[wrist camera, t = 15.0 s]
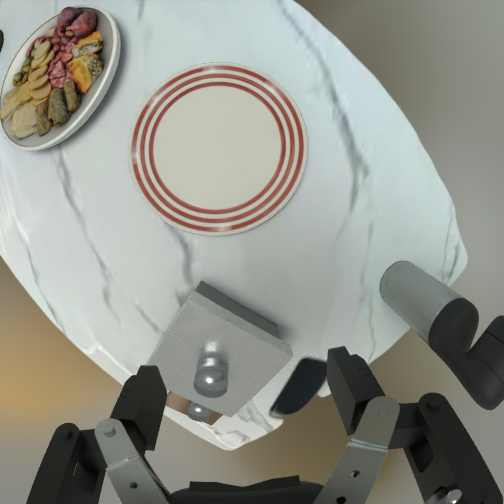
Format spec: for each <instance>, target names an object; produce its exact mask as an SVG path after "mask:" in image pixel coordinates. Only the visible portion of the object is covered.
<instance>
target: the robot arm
mask: <svg viewBox="0 0 504 504" xmlns="http://www.w3.org/2000/svg"><path fill="white" fill-rule="evenodd" d="M380 293H381V296H382V298H383V299H384V301H385V302H386V303H387V304H388V305H389V306H390V307H391V308H392V309H393V310H394V311H395V312H396V313H397V314H398V315H399V316H400V317H401V318H402V319H403V320H404V321H405V322H406V323H407V324H408V325H409V326H410V327H411V328H412V329H413V330H414V331H415V332H416V333H417V334H418V335H419V336H420V337H421V338H422V339H423V340H424V341H425V342H426V343H427V344H428V346H429V347H430V348H431V349H432V350H433V351H434V352H435V353H436V354H437V355H438V356H439V357H440V358H441V359H442V360H443V361H444V362H445V363H446V364H447V366H448V367H449V368H450V369H451V371H452V372H453V373H454V374H455V376H456V377H457V378H458V380H459V381H460V382H461V384H462V385H463V387H464V388H465V389H466V391H467V392H468V393H469V394H470V396H471V397H472V398H473V400H474V401H476V403H477V404H478V405H480V406H481V407H482V408H484V409H486V410H493V409H495V408H496V407H497V406H498V405H499V404H500V403H501V402H502V401H503V400H504V316H498V317H496V318H495V319H494V320H493V321H492V322H491V324H490V325H489V326H488V328H487V329H486V330H485V332H484V333H483V334H482V335H481V337H480V338H479V339H478V341H477V342H476V343H475V344H474V345H473V347H472V348H471V349H470V347H471V344H472V341H473V338H474V336H475V333H476V330H477V327H478V321H479V315H478V311H477V309H476V307H475V306H474V305H473V304H472V303H471V302H469V301H468V300H466V299H465V298H463V297H462V296H461V295H459V294H458V293H456V292H455V291H453V290H452V289H450V288H449V287H447V286H446V285H444V284H443V283H441V282H440V281H438V280H437V279H435V278H434V277H432V276H431V275H429V274H427V273H426V272H424V271H423V270H421V269H420V268H418V267H417V266H415V265H413V264H412V263H410V262H408V261H400V262H397V263H395V264H393V265H392V266H391V267H389V269H388V270H387V271H386V272H385V274H384V275H383V278H382V280H381V284H380ZM327 382H328V385H329V388H330V390H331V393H332V395H333V398H334V401H335V403H336V406H337V408H338V411H339V414H340V416H341V419H342V421H343V424H344V427H345V430H346V432H347V435H348V436H349V435H352V434H354V436H353V438H352V440H351V441H349V443H348V444H347V446H346V448H345V450H344V452H343V454H342V456H341V458H340V459H339V461H338V463H337V465H336V467H335V468H334V470H333V472H332V474H331V476H330V477H329V479H328V481H327V482H326V484H325V485H324V486H323V485H320V484H317V483H313V482H307V481H300V480H299V475H297V476H291V477H283V478H276V479H270V480H267V481H263V482H260V483H257V484H253V485H249V486H245V487H240V486H234V485H228V484H223V483H218V482H192V481H191V482H190V487H189V488H185V489H181V490H179V491H176V492H174V493H172V494H170V492H169V491H168V490H167V489H166V487H164V485H163V483H162V482H161V481H160V479H159V478H158V476H157V475H156V473H155V472H154V470H153V468H152V467H151V465H150V464H149V462H148V461H147V459H146V458H145V456H144V455H145V451H146V450H151V451H154V449H155V445H156V441H157V437H158V432H159V428H160V424H161V420H162V416H163V412H164V408H165V404H166V401H167V390H166V387H165V384H164V382H163V379H162V377H161V374H160V371H159V369H158V367H157V366H156V365H141V366H140V368H139V370H138V373H137V375H132V376H131V377H130V378H129V379H128V380H127V381H126V382H125V384H124V386H123V389H122V391H121V393H120V397H119V398H118V400H117V402H116V404H115V407H114V409H113V412H112V414H111V416H110V418H109V419H106V420H103V421H101V422H100V423H99V424H98V425H97V426H96V428H95V429H91V430H79V428H78V427H77V426H76V425H75V424H73V423H64V424H62V425H60V426H59V427H58V428H57V429H56V431H55V433H54V435H53V437H52V439H51V441H50V443H49V446H48V448H47V451H46V453H45V455H44V457H43V460H42V462H41V465H40V467H39V470H38V472H37V475H36V477H35V480H34V483H33V485H32V488H31V491H30V494H29V497H28V500H27V503H26V504H98V502H99V498H100V493H101V489H102V485H103V481H104V476H105V472H107V474H108V476H109V478H110V480H111V482H112V484H113V487H114V489H115V491H116V492H117V494H118V496H119V498H120V500H121V502H122V504H365V502H366V500H367V498H368V496H369V494H370V491H371V489H372V487H373V485H374V483H375V481H376V478H377V476H378V474H379V471H380V469H381V466H382V464H383V461H384V459H385V456H386V454H387V450H388V449H397V448H403V449H404V452H405V454H406V457H407V459H408V461H409V464H410V466H411V469H412V471H413V474H414V476H415V479H416V481H417V484H418V487H419V489H420V492H421V495H422V497H423V500H424V504H503V497H502V494H501V492H500V490H499V488H498V486H497V484H496V482H495V480H494V478H493V476H492V474H491V472H490V471H489V469H488V467H487V465H486V464H485V461H484V460H483V458H482V456H481V454H480V453H479V451H478V449H477V447H476V446H475V444H474V442H473V441H472V439H471V437H470V435H469V434H468V432H467V431H466V429H465V428H464V426H463V424H462V423H461V421H460V419H459V418H458V416H457V415H456V413H455V411H454V410H453V408H452V407H451V405H450V404H449V402H448V401H447V399H446V398H445V397H444V396H443V395H441V394H438V393H427V394H425V395H423V396H422V397H421V398H420V400H419V402H418V403H408V404H400V403H398V402H397V401H396V400H395V399H393V398H391V397H387V396H386V395H385V394H384V392H383V390H382V388H381V387H380V385H379V384H378V382H377V380H376V378H375V377H374V375H373V374H372V372H371V370H370V369H369V367H368V365H367V363H366V362H365V360H364V359H363V358H361V357H360V356H358V355H357V354H355V355H350V354H349V353H348V351H347V349H346V347H345V346H342V347H337V348H332V349H329V350H328V359H327ZM76 464H77V466H76ZM75 467H76V469H75ZM74 471H75V472H74ZM73 474H74V475H73Z"/></svg>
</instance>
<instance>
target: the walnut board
mask: <svg viewBox="0 0 504 504" xmlns="http://www.w3.org/2000/svg"><path fill="white" fill-rule="evenodd" d="M165 405H166V406H168V407H170V408H172V409H174V410H176V411H179V412H181V413H183V414H185V415H187V410H188V405H189V400H188V399H186V398H184V397H182V396H180V395H177V394H175V393H173V392H171V391H170V392H169V393H168V394H167V401H166V404H165ZM222 415H223V414H221V413H218V412H216V411H213V410H211V417H210V419H209V420H207V421H203V422H204V423H207V424H210V425H213V424H214V423H215V422H216V421H217V420H218V419H219V418H220V417H221V416H222Z"/></svg>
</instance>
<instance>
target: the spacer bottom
mask: <svg viewBox="0 0 504 504" xmlns="http://www.w3.org/2000/svg"><path fill="white" fill-rule="evenodd" d="M193 386H194V389H195V390H196V392H197V393H199V394H200V395H202V396H204V397H208V398H217V397H221V396H223V395H224V394H225V393H226V392H227V388H228V367H227V365H226V364H225V363H224V362H223V361H221V360H219V359H216V358H206V359H203V360H201V361H200V362H199V363H198V365H197V369H196V374H195V379H194V384H193Z"/></svg>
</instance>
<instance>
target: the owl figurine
mask: <svg viewBox="0 0 504 504" xmlns="http://www.w3.org/2000/svg"><path fill="white" fill-rule="evenodd" d="M1 36H2V37H1ZM0 37H1V38H0V52H1V49H2V46H3V39H4V38H3V32H2V31H1V30H0Z"/></svg>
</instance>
